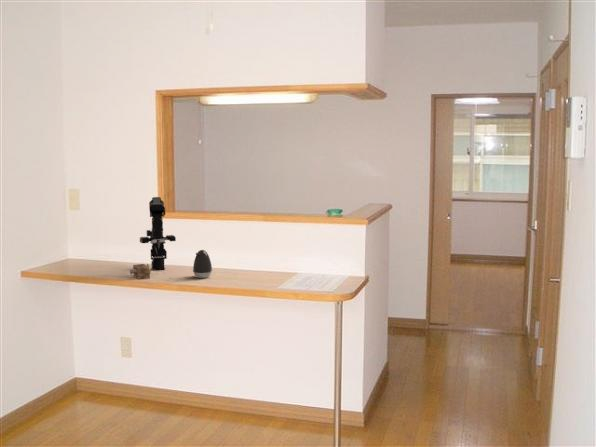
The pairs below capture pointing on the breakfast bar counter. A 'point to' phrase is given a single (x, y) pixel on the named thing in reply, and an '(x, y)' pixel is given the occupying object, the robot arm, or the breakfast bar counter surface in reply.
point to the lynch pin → (136, 270)
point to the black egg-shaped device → (202, 265)
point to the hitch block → (142, 271)
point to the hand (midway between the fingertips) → (158, 254)
